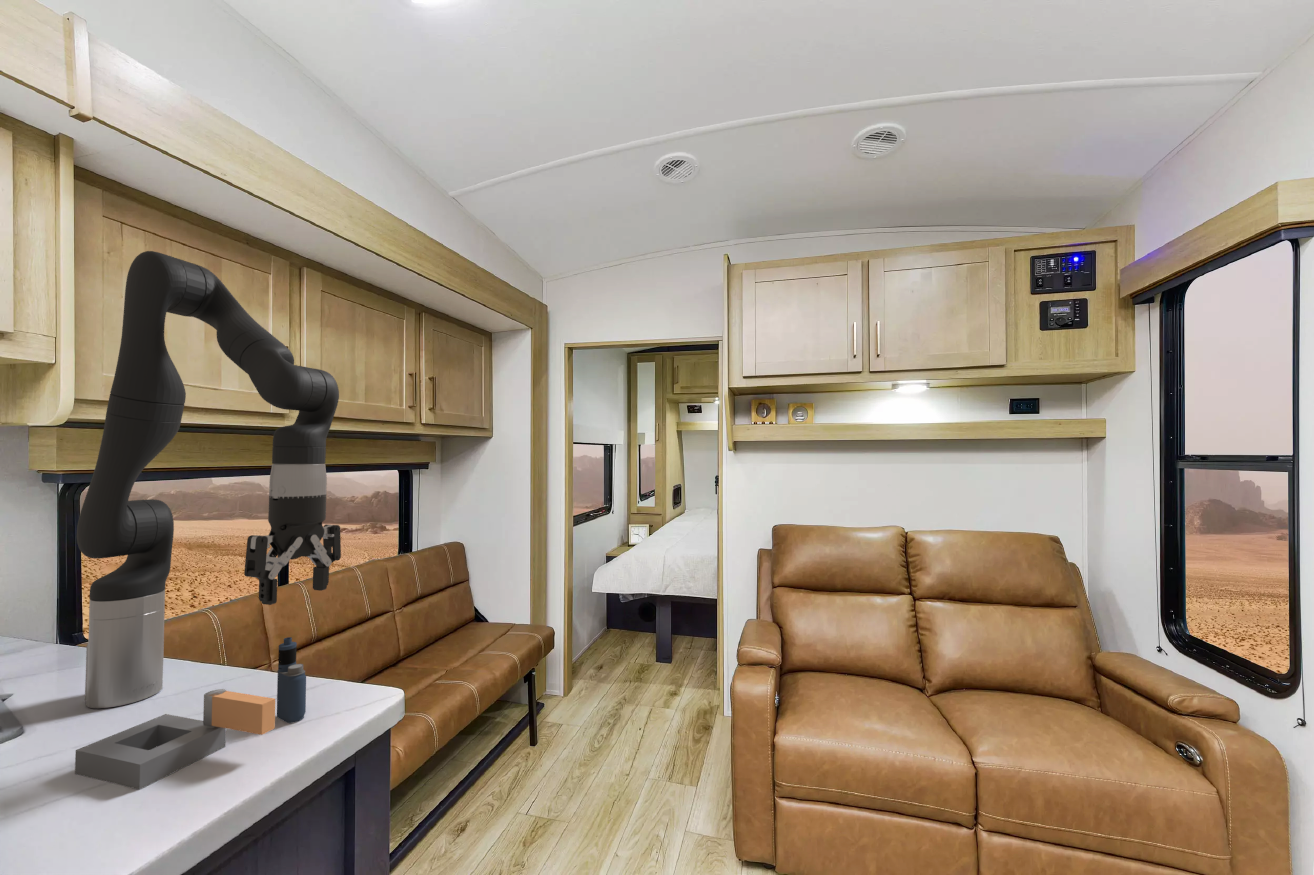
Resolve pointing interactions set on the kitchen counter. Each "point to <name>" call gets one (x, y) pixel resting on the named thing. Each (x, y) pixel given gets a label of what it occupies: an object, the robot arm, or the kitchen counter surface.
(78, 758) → the socket block
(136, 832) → the kitchen counter surface
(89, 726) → the kitchen counter surface
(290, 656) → the vaping device
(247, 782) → the kitchen counter surface
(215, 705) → the orange bar
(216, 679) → the kitchen counter surface
